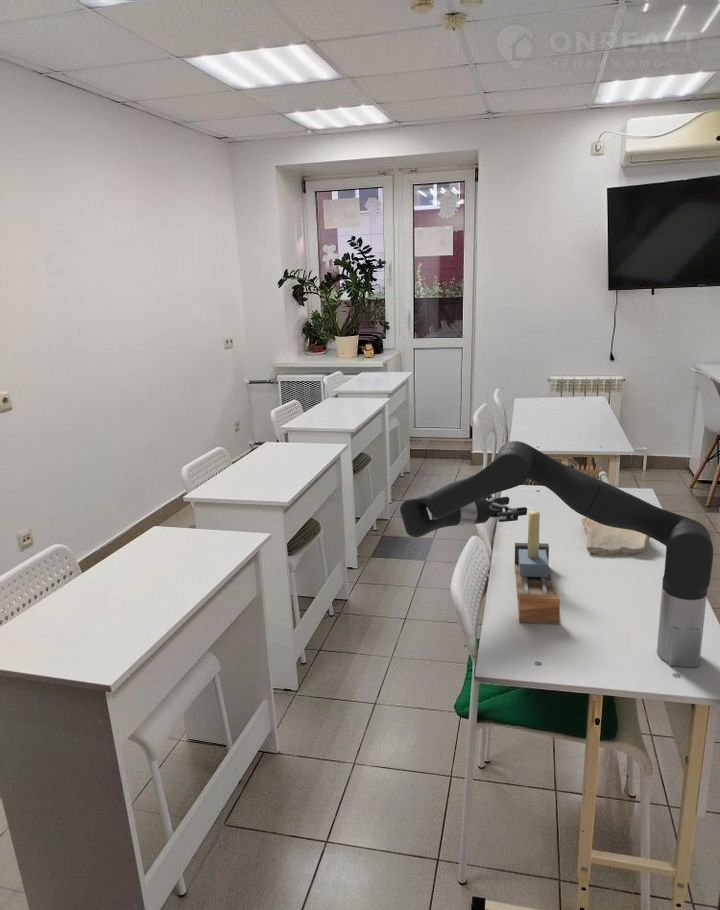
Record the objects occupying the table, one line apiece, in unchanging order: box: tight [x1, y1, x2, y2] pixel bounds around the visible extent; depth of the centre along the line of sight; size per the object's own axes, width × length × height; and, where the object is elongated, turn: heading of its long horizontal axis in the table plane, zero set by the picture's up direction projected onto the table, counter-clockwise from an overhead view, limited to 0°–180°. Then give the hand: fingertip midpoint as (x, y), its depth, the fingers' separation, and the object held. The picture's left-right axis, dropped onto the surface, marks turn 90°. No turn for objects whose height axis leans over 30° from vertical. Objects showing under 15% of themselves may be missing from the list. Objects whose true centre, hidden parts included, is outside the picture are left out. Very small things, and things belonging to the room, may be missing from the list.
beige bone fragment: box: [580, 517, 651, 556], centre depth 213 cm, size 24×8×20 cm
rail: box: [514, 542, 561, 626], centre depth 183 cm, size 34×10×8 cm, turn 169°
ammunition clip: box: [575, 464, 604, 479], centre depth 255 cm, size 11×2×12 cm, turn 69°
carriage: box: [518, 510, 550, 577], centre depth 190 cm, size 10×8×18 cm
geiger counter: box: [598, 470, 612, 485], centre depth 235 cm, size 14×6×25 cm
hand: (517, 505), depth 184 cm, fingers open, 8 cm apart
